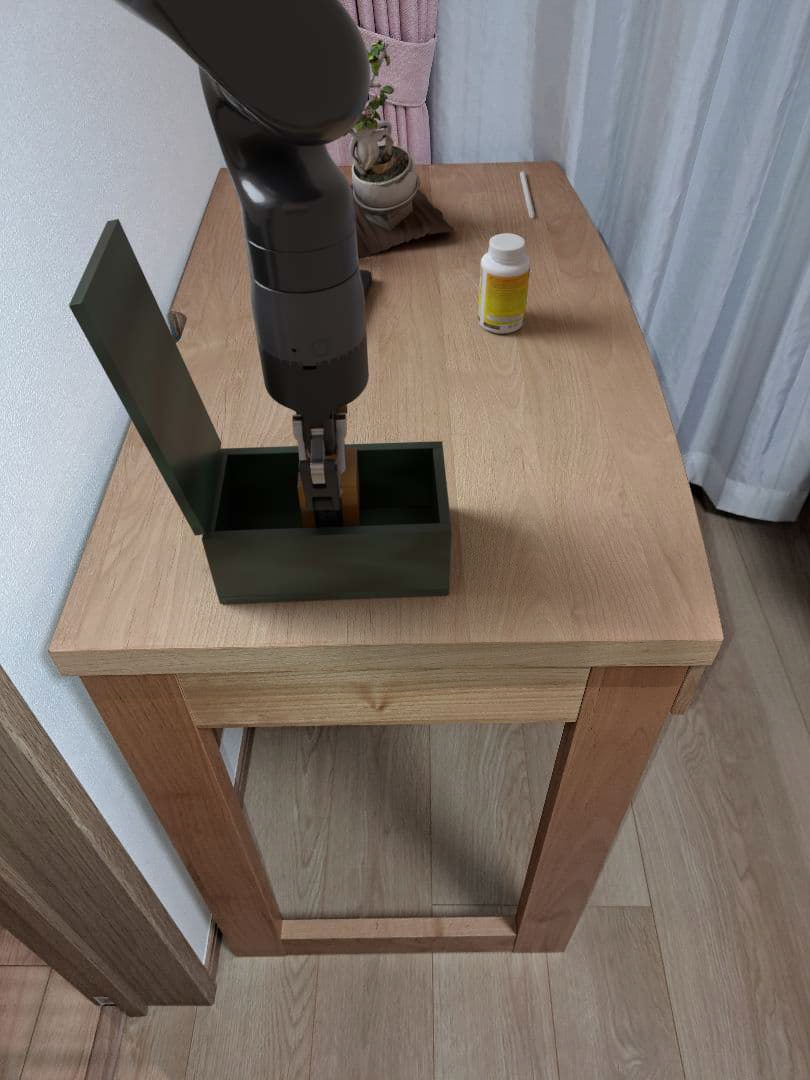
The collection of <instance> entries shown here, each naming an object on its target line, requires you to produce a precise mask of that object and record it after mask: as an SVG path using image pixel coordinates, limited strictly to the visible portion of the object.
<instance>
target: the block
mask: <svg viewBox="0 0 810 1080" xmlns="http://www.w3.org/2000/svg"><path fill="white" fill-rule="evenodd" d="M345 454H346V469H345V471H344V473H342V474H341V475H340V478H341V489H343V495H341V496H342V497H341V499H342V512H343V526H359V525H360V486H359V473H358V459H357V447H345ZM307 455H308V457H309V458H311V454H310V453H309V452H308V450H307ZM337 456H338V449H337V450H336V454H333V455H331V456H325V458H326V459H334V458H336V457H337ZM299 465H300V463H299ZM297 488H298V495H299V501H300V508H301V515H302V522H303V527H316V525H315V517H314V511H308V509H307V507H306V499H305V495H304V490H303V485H302V481H301V476H300V472H298V485H297Z"/></svg>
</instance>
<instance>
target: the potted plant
mask: <svg viewBox="0 0 810 1080" xmlns="http://www.w3.org/2000/svg"><path fill="white" fill-rule="evenodd" d="M388 48H389V43H388V42H387V41H386V40H385V41H384V43H383V40H382V39H378V40H377V41H376V42H373V43H371V44H370V51H369V50H368V49H367V53H368V57H369V63H370V69H371V72H372V75H371V76H370V89H373V88H377V89H378V90H379V98H378V94H374V96H373V98H372V99H371V100H369V99H367V102H366V105H365V108H364V110H363V112H364V113H362V115H361V116H360V118H359V120H358V121H357V122H356V124H355V125H354V126H353V127H352V128H351V129H350V130H349V131H348V132H347V133H346V134H345V135H343V136H342V137H346V136H347V135H348V134H350V135H351V140H350V141H349V146H348V155H349V159H350V160H351V162H352V164H351V183H352V184H350V186H351V189H352V193H353V198H354V204H355V212H356V226H357V243H358V259H359V258H366V257H370V256H371V255H373V254H378V253H380V252H381V251H387V250H390V248H392V247H396V246H397V245H400V244H403V243H404V242H407V243H409V241H411V240H412V239H415V240H418V239H420V238H421V237H422V238H423V237H425V236H426V235H427V234H428V235H434V234H438V233H447V232H448V233H455V234H457V233H456V231H455V228H454V227H453V226H452V225H450V224H449V223H448V222H447V220H446V219H445V218H444V215H443V212H442V210H440V209H439V207H438V208H437V207H434V205H433V204H432V203H431V202H430V200H429V199H428V197H427V196H426V194H424V193H423V192H422V191H420V190H419V188H420V186H421V181H420V177H419V175H418V173H417V170H416V167H415V163H414V160H413V158H412V157H411V154H410V153H409V152H408V150H407V149H406V148H404V147H402V146H398V145H396V144H394V143H395V142H394V140H393V137H392V136H391V135H392V129H393V128H392V127H393V126H392V123H391V122H389V121H388V120H382V119H381V115H380V114H379V112H378V111H377V110H378V109H379V108H380V107H381V106H382V107H383V108H385V107H386V105H385V103H386V101H387V100H388V95H392V94H393V93H394V91H395V88H394V87H393V86H390V85H384V86H383V87H382V84H380V82H378V81H376V82H375V83H374V81H375V80H374V79H375V78H376V77H379V72H380V68H381V66H382V64H383V62H384V60H385V62H386V67H389V66H390V65H391V57H390V56H389V55H388V53H387V49H388ZM378 121H379V122H378ZM385 129H387V130H385ZM384 139H385V144H379V143H380V142H382V141H384ZM355 153H356V154H355Z"/></svg>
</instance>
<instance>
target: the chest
mask: <svg viewBox="0 0 810 1080" xmlns="http://www.w3.org/2000/svg"><path fill="white" fill-rule="evenodd" d="M345 447H357V459H358V473H359V486H360V525H359V526H343V527H318V528H316V527H303V522H302V515H301V508H300V501H299V495H298V488H297V485H298V465H299V452H298V445H283V446H256V447H255V446H254V447H251V446H250V447H226V448H225V447H224V448H223V447H221V449H220V454H219V460H218V466H217V471H216V477H215V482H214V488H213V494H212V499H211V505H210V510H209V516H208V521H207V527H206V533H205V534H204V535H201V536H202V537H201V543H202V546H203V549H204V553H205V557H206V560H207V564H208V568H209V571H210V576H211V578H212V581H213V585H214V588H215V592H216V596H217V599H218V602H219V603H218V604H219V605H220V604H221V605H222V604H223V605H225V604H226V605H227V604H248V603H249V604H250V603H253V604H254V603H278V602H304V601H308V602H309V601H332V600H333V601H334V600H335V601H336V600H358V599H359V600H360V599H383V598H384V599H386V598H389V599H390V598H413V597H414V598H415V597H418V598H419V597H441V596H449V595H450V583H451V582H450V581H451V561H452V560H451V559H452V537H453V536H452V535H453V529H452V521H451V511H450V510H451V509H450V502H449V491H448V481H447V473H446V462H445V454H444V453H445V452H444V445H443V441H442V440H438V441H437V440H435V441H433V440H432V441H408V442H406V441H405V442H376V443H375V442H374V443H373V442H371V443H348V444H347V443H345Z"/></svg>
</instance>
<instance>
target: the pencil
mask: <svg viewBox="0 0 810 1080" xmlns="http://www.w3.org/2000/svg"><path fill="white" fill-rule="evenodd" d="M519 178H520V181H521V186H522V191H523V195H524V199H525V204H526V209H527V212H528V218H529V219H531V220H534V219H535V217H536V215H535V210H534V206H533V201H532V198H531V193H530V189H529V188H530V187H529V184H528V180H527V174H526V172H525V171H524V170H523V171H520V172H519Z"/></svg>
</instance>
